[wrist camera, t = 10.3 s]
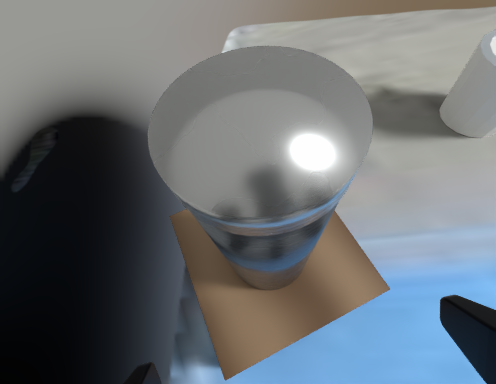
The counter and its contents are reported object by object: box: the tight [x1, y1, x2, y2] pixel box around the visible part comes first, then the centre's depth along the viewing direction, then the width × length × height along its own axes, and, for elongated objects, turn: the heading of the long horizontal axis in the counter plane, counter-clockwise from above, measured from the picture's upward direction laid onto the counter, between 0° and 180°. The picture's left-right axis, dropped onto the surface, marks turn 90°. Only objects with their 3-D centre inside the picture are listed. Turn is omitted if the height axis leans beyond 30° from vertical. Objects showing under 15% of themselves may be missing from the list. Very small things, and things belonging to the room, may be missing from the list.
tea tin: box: [148, 46, 373, 290], centre depth 12 cm, size 5×5×12 cm
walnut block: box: [170, 209, 390, 380], centre depth 19 cm, size 11×11×4 cm
